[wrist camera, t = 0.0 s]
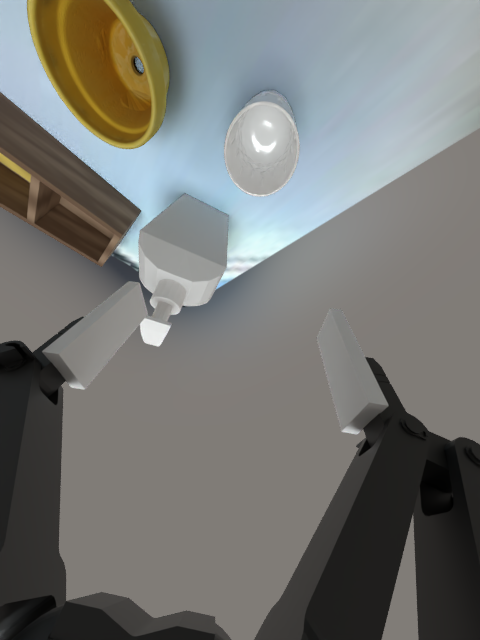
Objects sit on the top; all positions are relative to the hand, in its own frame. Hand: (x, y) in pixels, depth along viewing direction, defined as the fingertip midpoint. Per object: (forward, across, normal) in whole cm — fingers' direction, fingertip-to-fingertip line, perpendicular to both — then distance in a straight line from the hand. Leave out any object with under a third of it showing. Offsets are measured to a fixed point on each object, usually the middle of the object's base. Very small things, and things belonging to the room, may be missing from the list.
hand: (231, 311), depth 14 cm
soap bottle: (+30, -11, -2) cm, 32 cm away
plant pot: (+24, -15, +16) cm, 33 cm away
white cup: (+26, 0, +12) cm, 28 cm away
